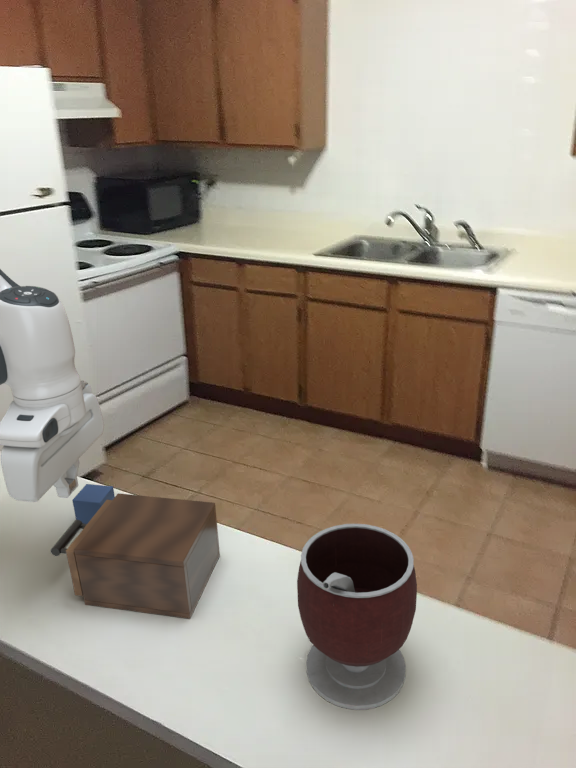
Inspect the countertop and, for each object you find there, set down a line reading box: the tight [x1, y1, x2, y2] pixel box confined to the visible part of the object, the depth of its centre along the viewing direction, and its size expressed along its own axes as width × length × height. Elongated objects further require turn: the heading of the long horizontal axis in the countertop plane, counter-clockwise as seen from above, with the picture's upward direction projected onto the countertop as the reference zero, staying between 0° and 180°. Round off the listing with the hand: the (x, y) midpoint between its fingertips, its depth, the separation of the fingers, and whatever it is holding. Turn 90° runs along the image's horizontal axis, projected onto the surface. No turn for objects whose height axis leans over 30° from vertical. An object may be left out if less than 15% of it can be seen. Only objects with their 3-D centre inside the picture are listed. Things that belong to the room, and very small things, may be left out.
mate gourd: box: [296, 523, 418, 711], centre depth 78 cm, size 16×14×20 cm
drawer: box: [50, 500, 112, 597], centre depth 98 cm, size 19×13×8 cm, turn 78°
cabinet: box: [74, 493, 221, 620], centre depth 98 cm, size 16×14×10 cm
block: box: [72, 483, 116, 524], centre depth 113 cm, size 5×5×5 cm
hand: (68, 492), depth 96 cm, fingers closed
